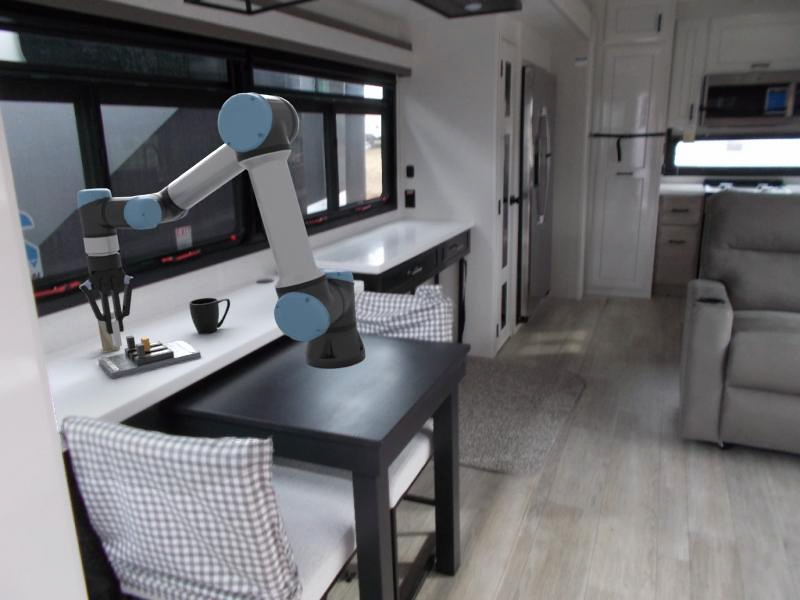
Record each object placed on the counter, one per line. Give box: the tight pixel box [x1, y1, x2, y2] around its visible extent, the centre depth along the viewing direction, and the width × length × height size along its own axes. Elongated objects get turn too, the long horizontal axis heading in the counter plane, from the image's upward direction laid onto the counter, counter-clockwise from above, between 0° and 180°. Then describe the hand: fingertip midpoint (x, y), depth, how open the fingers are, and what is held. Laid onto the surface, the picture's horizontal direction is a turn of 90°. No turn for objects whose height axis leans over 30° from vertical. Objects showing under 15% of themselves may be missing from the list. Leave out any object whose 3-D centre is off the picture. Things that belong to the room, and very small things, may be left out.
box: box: [96, 307, 121, 353], centre depth 173 cm, size 5×4×11 cm
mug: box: [188, 297, 231, 335], centre depth 186 cm, size 8×12×10 cm
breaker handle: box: [140, 336, 151, 351], centre depth 161 cm, size 2×2×3 cm
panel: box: [97, 335, 202, 380], centre depth 162 cm, size 14×22×6 cm, turn 128°
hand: (117, 344), depth 157 cm, fingers closed
